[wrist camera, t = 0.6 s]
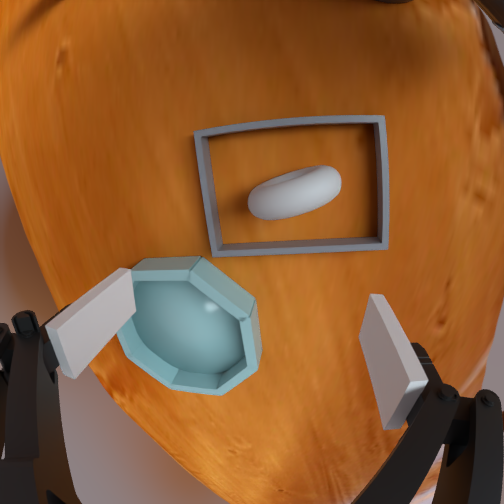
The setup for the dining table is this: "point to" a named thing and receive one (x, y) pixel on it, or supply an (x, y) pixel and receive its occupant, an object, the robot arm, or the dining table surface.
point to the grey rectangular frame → (296, 245)
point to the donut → (294, 193)
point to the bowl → (191, 326)
